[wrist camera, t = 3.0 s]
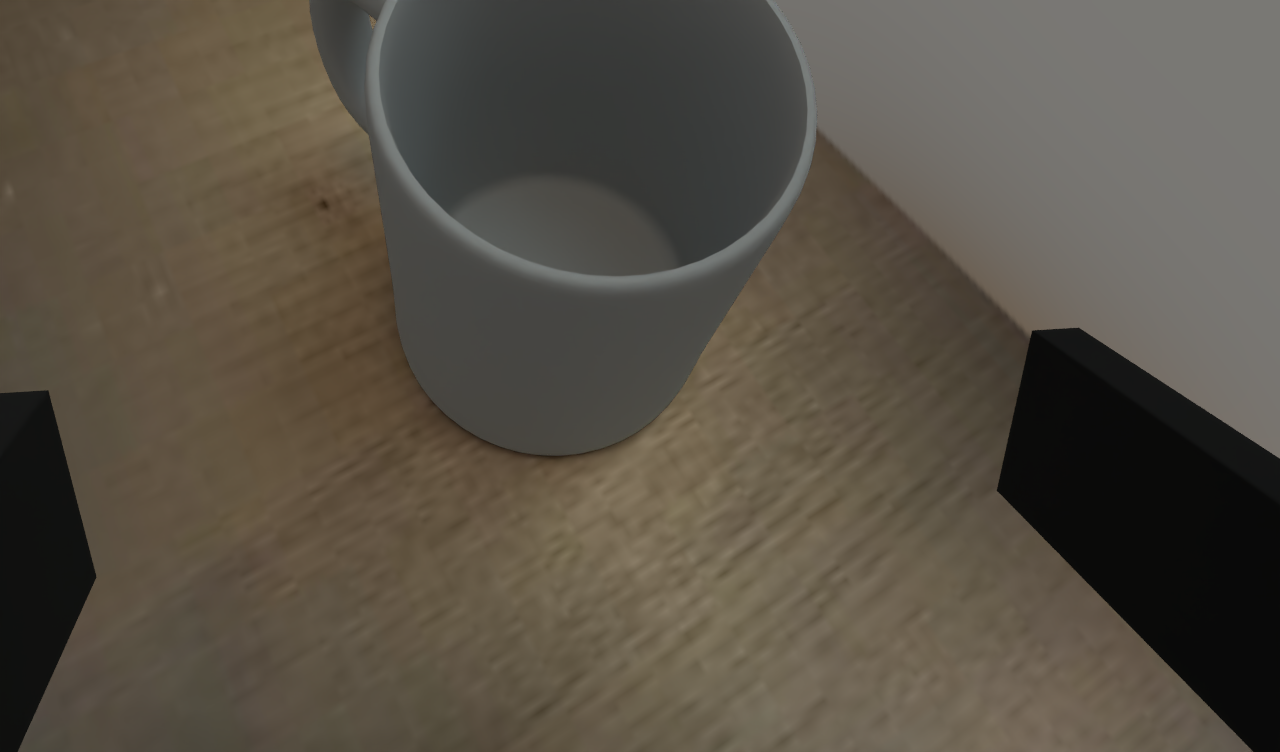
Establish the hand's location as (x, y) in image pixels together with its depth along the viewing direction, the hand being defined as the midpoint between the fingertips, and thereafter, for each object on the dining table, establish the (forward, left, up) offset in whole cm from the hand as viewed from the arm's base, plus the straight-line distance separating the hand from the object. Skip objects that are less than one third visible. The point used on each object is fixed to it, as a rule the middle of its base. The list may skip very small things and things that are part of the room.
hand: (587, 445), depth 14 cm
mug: (-2, -9, -13) cm, 16 cm away
